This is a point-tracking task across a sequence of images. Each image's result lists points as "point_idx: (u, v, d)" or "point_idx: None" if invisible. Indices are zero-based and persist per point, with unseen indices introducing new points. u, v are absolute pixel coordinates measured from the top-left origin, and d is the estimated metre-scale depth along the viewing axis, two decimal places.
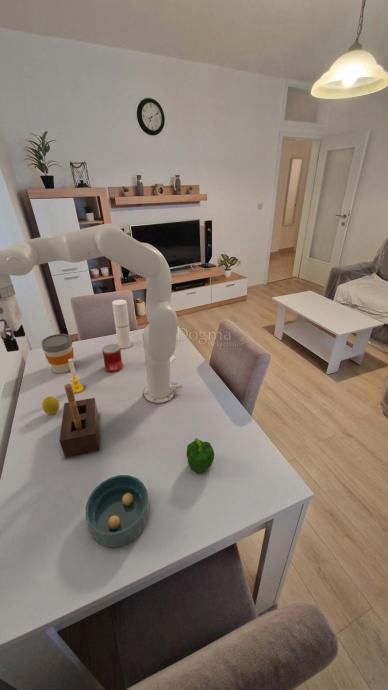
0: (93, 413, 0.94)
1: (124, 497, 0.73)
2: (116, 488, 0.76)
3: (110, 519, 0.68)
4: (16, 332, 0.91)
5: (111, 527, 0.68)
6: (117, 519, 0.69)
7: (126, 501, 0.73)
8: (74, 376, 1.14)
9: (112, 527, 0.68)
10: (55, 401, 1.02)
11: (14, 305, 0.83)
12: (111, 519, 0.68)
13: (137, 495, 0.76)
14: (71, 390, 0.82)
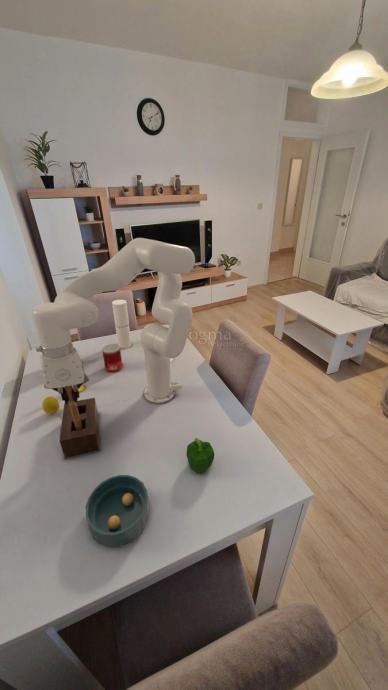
0: (93, 413, 0.94)
1: (124, 497, 0.73)
2: (116, 488, 0.76)
3: (110, 519, 0.68)
4: None
5: (111, 527, 0.68)
6: (117, 519, 0.69)
7: (126, 501, 0.73)
8: None
9: (112, 527, 0.68)
10: (55, 401, 1.02)
11: (59, 367, 0.75)
12: (111, 519, 0.68)
13: (137, 495, 0.76)
14: (71, 390, 0.82)
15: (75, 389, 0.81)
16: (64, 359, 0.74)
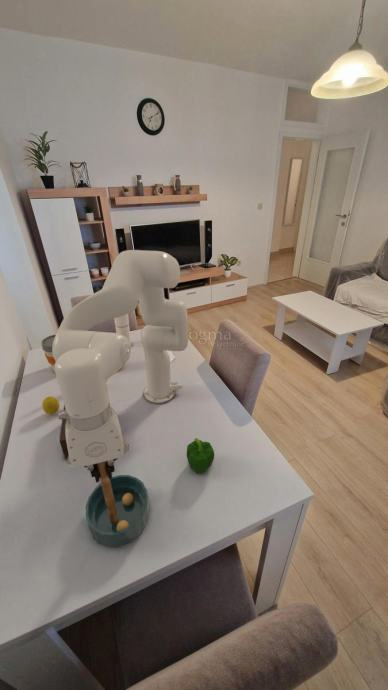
0: None
1: (124, 497, 0.73)
2: (116, 488, 0.76)
3: None
4: None
5: None
6: None
7: (126, 501, 0.73)
8: None
9: None
10: (55, 401, 1.02)
11: (91, 440, 0.51)
12: None
13: (137, 495, 0.76)
14: (104, 463, 0.58)
15: (110, 463, 0.58)
16: (99, 429, 0.51)
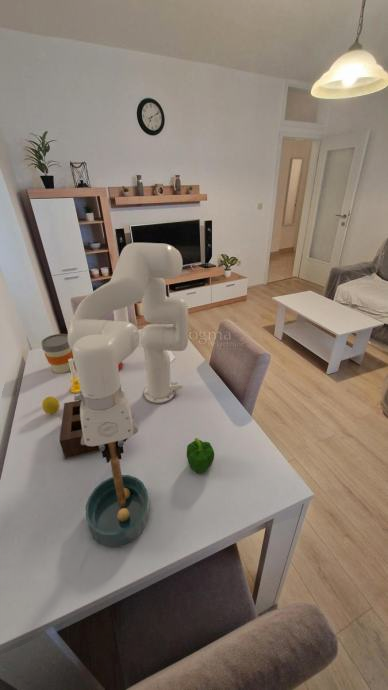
0: None
1: None
2: None
3: (123, 509, 0.71)
4: None
5: (118, 515, 0.70)
6: (126, 515, 0.70)
7: None
8: (74, 376, 1.14)
9: (118, 516, 0.70)
10: (55, 401, 1.02)
11: (104, 420, 0.55)
12: (123, 509, 0.70)
13: (137, 495, 0.76)
14: (115, 444, 0.62)
15: (120, 444, 0.62)
16: (111, 409, 0.55)
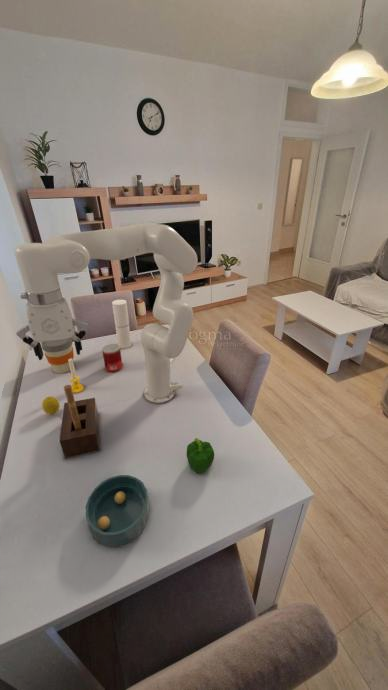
0: (93, 413, 0.94)
1: None
2: (116, 488, 0.76)
3: None
4: None
5: None
6: None
7: (118, 492, 0.74)
8: (74, 376, 1.14)
9: None
10: (55, 401, 1.02)
11: (46, 316, 0.68)
12: None
13: (137, 495, 0.76)
14: (70, 391, 0.81)
15: (78, 339, 0.75)
16: (51, 308, 0.68)
